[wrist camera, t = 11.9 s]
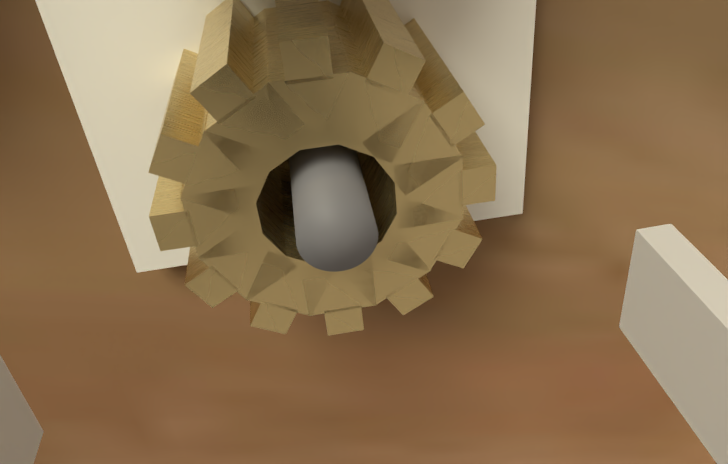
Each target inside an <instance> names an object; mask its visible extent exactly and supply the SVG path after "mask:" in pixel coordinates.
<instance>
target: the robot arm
mask: <svg viewBox="0 0 728 464" xmlns="http://www.w3.org/2000/svg"><path fill="white" fill-rule="evenodd" d="M619 328H620V329H621V330H622V332H623V333H624V335H625V336H626V337H627V339H628V340H629V342H630V343H631V344H632V346H633V347H634V349H635V350H636V351H637V353H638V354H639V356H640V357H641V358H642V360H643V361H644V363H645V364H646V365H647V367H648V368H649V370H650V371H651V372H652V374H653V375H654V377H655V378H656V379H657V381H658V382H659V384H660V385H661V386H662V388H663V389H664V390H665V392H666V393H667V395H668V396H669V397H670V399H671V400H672V402H673V403H674V404H675V406H676V407H677V409H678V410H679V411H680V413H681V414H682V416H683V417H684V418H685V420H686V421H687V423H688V424H689V425H690V427H691V428H692V430H693V431H694V432H695V434H696V435H697V437H698V438H699V439H700V441H701V442H702V444H703V445H704V446H705V448H706V449H707V451H708V452H709V453H710V455H711V456H712V458H713V459H714V460H715V462H716V463H717V464H728V280H727V279H726V278H725V277H724V276H723V275H722V274H721V273H720V272H719V271H718V270H717V269H716V268H715V267H714V266H713V265H712V264H711V263H710V262H709V261H708V260H707V259H706V258H705V257H704V256H703V255H702V254H701V253H700V252H699V251H698V250H697V249H696V248H695V247H694V246H693V245H692V244H691V243H690V242H689V241H688V240H687V239H686V238H685V237H684V236H683V235H682V234H681V233H680V232H679V231H678V230H677V229H676V228H675V227H674V226H673V225H672V224H667V225H661V226H655V227H649V228H643V229H637V230H636V234H635V240H634V246H633V251H632V257H631V262H630V268H629V274H628V279H627V285H626V291H625V296H624V302H623V307H622V313H621V319H620V324H619ZM43 432H44V431H43V429H42V428H41V426H40V424H39V422H38V421H37V419H36V417H35V415H34V414H33V412H32V410H31V408H30V407H29V405H28V403H27V401H26V400H25V398H24V396H23V394H22V392H21V391H20V389H19V387H18V385H17V384H16V382H15V380H14V378H13V377H12V375H11V373H10V371H9V370H8V368H7V366H6V364H5V363H4V361H3V359H2V357H1V356H0V464H33V463H34V460H35V457H36V454H37V451H38V448H39V444H40V441H41V438H42V435H43Z"/></svg>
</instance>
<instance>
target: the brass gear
mask: <svg viewBox="0 0 728 464" xmlns="http://www.w3.org/2000/svg"><path fill="white" fill-rule="evenodd" d="M275 4H276V7H274V8H265V9H263V10H262V11H261V12H260V13H258V14H257V15H256V16H255V17H253V15H252V14H251V13H250V12H249V11H248V9H247V8H246V7H245V6H244V4H243V3H242V2H241V1H240V0H225V1H223V2H222V3H221V4H220V5H218V6H217V7H216V8H215V9H214V10H212V11H211V12H210V13H209V14H207V15H206V19H205V23H204V28H203V33H202V37H201V42H200V47H199V52H198V54H197V53H195V52H192V51H189V50H187V49H183V52H182V55H181V59H180V62H179V65H178V68H177V71H176V75H175V78H174V81H173V85H172V88H171V92H170V96H169V99H168V103H167V106H166V110H165V114H164V117H163V121H162V125H161V128H160V132H159V136H158V139H157V143H156V146H155V150H154V154H153V157H152V161H151V165H150V168H149V172H148V173H151V174H154V175H157V176H159V177H158V181H157V185H156V189H155V193H154V197H153V201H152V205H151V209H150V214H149V219H150V222H151V225H152V228H153V231H154V234H155V237H156V240H157V242H158V245H159V248H160V251H166V250H172V249H179V248H186V247H190V250H189V257H188V265H187V272H186V279H185V286H186V287H188V288H189V289H190V290H191V291H192V292H194V293H195V294H196V295H197V296H199V297H200V298H201V299H202V300H204V301H205V302H206V303H207V304H208V305H210V306H211V307H212V308H213V307H215V306H216V305H218V304H219V303H221V302H222V301H223V300H225V299H226V298H228V297H229V296H231V295H232V294H234V293H235V292H238V293H239V294H240V295H242V296H243V297H244V298H245V299H246V300H247V301H248V300H249V301H250V326H253V327H257V328H261V329H265V330H270V331H274V332H278V333H282V334H286V333H287V331H288V329H289V327H290V325H291V323H292V321H293V319H294V317H295V315H296V313H301V314H305V315H309V316H312V315H318V314H324V315H325V321H326V327H327V333H328V336H329V335H335V334H341V333H348V332H354V331H360V330H364V326H363V318H362V309H361V308H362V307H369V306H375V305H377V304H378V303H380V302H382V301H383V300H385V299H386V298H387V299H388V300H389V301H390V302H391V303H392V304H393V305H394V306H395V307H396V308H397V309H398V310H399V312H400V313H401V314H402V315H405V314H406V313H408V312H410V311H411V310H413V309H415V308H416V307H418V306H419V305H421V304H423V303H424V302H426V301H428V300H429V299H431V298H433V297H434V295H433V293H432V290H431V287H430V284H429V281H428V278H427V275H426V273H428V272H430V271H431V269H432V267H433V265H434V264H435V262H436V261H441V262H444V263H447V264H451V265H454V266H457V267H460V268H464V267H465V265H466V264H467V262H468V261H469V259H470V258H471V256H472V255H473V253H474V252H475V250H476V248H477V247H478V245H479V244H480V242H481V241H482V237H481V235H480V233H479V231H478V229H477V227H476V225H475V223H474V221H473V219H472V217H471V215H470V213H469V211H468V209H467V207H466V205H470V204H477V203H483V202H490V201H495V195H496V166H497V165H496V164H495V162H494V160H493V159H492V157H491V156H490V154H489V153H488V151H487V149H486V148H485V146H484V145H483V143H482V141H481V140H480V138H479V137H478V135H477V133H476V132H475V131H476V130H478V129H479V128H481V127H482V126H484V125H485V123H484V122H483V120H482V119H481V117H480V116H479V114H478V113H477V111H476V110H475V108H474V107H473V105H472V104H471V102H470V100H469V99H468V97H467V96H466V94H465V93H464V91H463V90H462V88H461V87H460V85H459V84H458V82H457V81H456V79H455V78H454V77H453V75H452V74H451V72H450V71H449V69H448V68H447V66H446V65H445V63H444V62H443V60H442V59H441V57H440V56H439V54H438V53H437V51H436V50H435V48H434V47H433V45H432V44H431V42H430V41H429V39H428V38H427V36H426V35H425V33H424V32H423V31H422V29H421V28H420V26H419V25H418V23H417V22H416V20H415V19H414V18H413V19H412V20H411V21H409V22H408V23H406V24H405V25H404V24H403V22H402V21H401V19H400V18H399V16H398V14H397V13H396V11H395V9H394V8H393V6H392V5H391V3H390V1H389V0H342V2H341V4H340V6H339V5H336V4H334V3H332V2H329V0H328V1H327V0H326V1H320V2H319V1H318V0H275ZM338 144H339V145H342V146H344V147H347V148H350V149H353V150H356V152H357V156H358V160H359V163H360V167H361V170H362V174H363V178H364V181H365V185H366V189H367V192H368V196H369V200H370V203H371V207H372V211H373V214H374V218H375V222H376V225H377V229H378V242H377V245H376V247H375V250H374V251H373V253H372V254H371V255H370V257H369V258H368V259H367V260H366V261H364V262H363V263H362V264H360V265H358V266H356V267H354V268H352V269H349V270H345V271H338V272H330V271H324V270H320V269H317V268H315V267H313V266H311V265H309V264H308V263H307V262H306V261H305V260H304V259H303V258H302V257H301V255H300V254H299V252H298V250H297V246H296V236H295V225H294V214H293V202H292V191H291V180H290V168H289V157H291V156H292V155H294V154H295V153H296V152H298V151H299V150H304V149H311V148H318V147H325V146H332V145H338Z"/></svg>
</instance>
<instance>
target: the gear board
mask: <svg viewBox="0 0 728 464" xmlns="http://www.w3.org/2000/svg"><path fill="white" fill-rule="evenodd" d="M35 1H36V4H37V6H38V9H39V12H40V14H41V17H42V20H43V22H44V25H45V28H46V30H47V33H48V36H49V38H50V41H51V44H52V46H53V49H54V52H55V54H56V57H57V60H58V62H59V65H60V68H61V70H62V73H63V76H64V79H65V81H66V84H67V87H68V89H69V92H70V95H71V97H72V100H73V103H74V105H75V108H76V111H77V113H78V116H79V119H80V121H81V124H82V127H83V129H84V132H85V135H86V137H87V140H88V143H89V145H90V148H91V151H92V153H93V156H94V159H95V161H96V164H97V167H98V169H99V172H100V175H101V177H102V180H103V183H104V186H105V188H106V191H107V194H108V196H109V199H110V202H111V204H112V207H113V210H114V212H115V215H116V218H117V220H118V223H119V226H120V228H121V231H122V234H123V236H124V239H125V242H126V244H127V247H128V250H129V252H130V255H131V258H132V260H133V263H134V266H135V268H136V271H137V272H143V271H150V270H156V269H163V268H170V267H176V266H183V265H188V257H189V250H190V247H186V248H179V249H172V250H166V251H160V248H159V245H158V242H157V240H156V237H155V234H154V231H153V228H152V225H151V222H150V219H149V214H150V209H151V205H152V201H153V197H154V193H155V189H156V185H157V181H158V177H159V176H157V175H154V174H151V173H148V172H149V168H150V165H151V161H152V157H153V154H154V150H155V146H156V143H157V139H158V136H159V132H160V128H161V125H162V121H163V117H164V114H165V110H166V106H167V103H168V99H169V96H170V92H171V88H172V85H173V81H174V78H175V75H176V71H177V68H178V65H179V62H180V59H181V55H182V52H183V49H187V50H189V51H192V52H195V53H197V54H198V52H199V47H200V42H201V37H202V33H203V28H204V23H205V19H206V15H207V14H209V13H210V12H211V11H212V10H214V9H215V8H216V7H217V6H218V5H220V4H221V3H222V2H223V1H225V0H35ZM240 1H241V2H242V3H243V4H244V6H245V7H246V8H247V9H248V11H249V12H250V13H251V14H252V15H253V17H255V16H256V15H257V14H258V13H260V12H261V11H262V10H263V9H265V8H274V7H276V4H275V0H240ZM318 1H319V2H320V1H326V0H318ZM327 1H328V0H327ZM389 1H390V3H391V5H392V6H393V8H394V9H395V11H396V13H397V14H398V16H399V18H400V19H401V21H402V22H403V24H404V25H405V24H406V23H408V22H409V21H411V20H412V19H413V18H414V19H415V20H416V22H417V23H418V25H419V26H420V28H421V29H422V31H423V32H424V33H425V35H426V36H427V38H428V39H429V41H430V42H431V44H432V45H433V47H434V48H435V50H436V51H437V53H438V54H439V56H440V57H441V59H442V60H443V62H444V63H445V65H446V66H447V68H448V69H449V71H450V72H451V74H452V75H453V77H454V78H455V79H456V81H457V82H458V84H459V85H460V87H461V88H462V90H463V91H464V93H465V94H466V96H467V97H468V99H469V100H470V102H471V104H472V105H473V107H474V108H475V110H476V111H477V113H478V114H479V116H480V117H481V119H482V120H483V122H484V123H485V125H484V126H482V127H481V128H479V129H478V130H476V131H475V132H476V133H477V135H478V137H479V138H480V140H481V141H482V143H483V145H484V146H485V148H486V149H487V151H488V153H489V154H490V156H491V157H492V159H493V160H494V162H495V164H496V165H497V166H496V195H495V201H490V202H483V203H477V204H470V205H466V207H467V209H468V211H469V213H470V215H471V217H472V219H473V221H477V220H484V219H490V218H497V217H503V216H510V215H516V214H523V199H524V183H525V168H526V152H527V136H528V121H529V105H530V90H531V74H532V59H533V43H534V27H535V12H536V0H389ZM329 2H332V3H334V4H336V5H339V6H340V4H341V2H342V0H329ZM289 168H290V180H291V191H292V202H293V214H294V225H295V236H296V246H297V250H298V252H299V254H300V255H301V257H302V258H303V259H304V260H305V261H306V262H307V263H308V264H309V265H311V266H313V267H315V268H317V269H320V270H324V271H330V272H338V271H345V270H349V269H352V268H354V267H356V266H358V265H360V264H362V263H363V262H364V261H366V260H367V259H368V258H369V257H370V255H371V254H372V253H373V251H374V250H375V247H376V245H377V242H378V229H377V225H376V222H375V218H374V214H373V211H372V207H371V203H370V200H369V196H368V192H367V189H366V185H365V181H364V178H363V174H362V170H361V167H360V163H359V160H358V156H357V152H356V150H353V149H350V148H347V147H344V146H342V145H339V144H338V145H332V146H325V147H318V148H311V149H304V150H299V151H298V152H296V153H295V154H294V155H292V156H291V157H289Z"/></svg>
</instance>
